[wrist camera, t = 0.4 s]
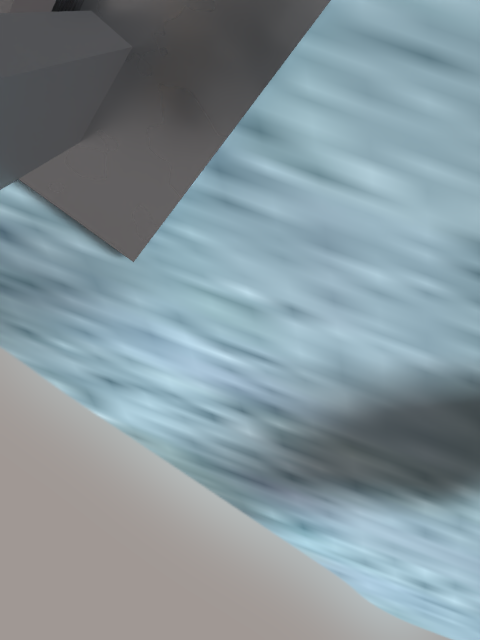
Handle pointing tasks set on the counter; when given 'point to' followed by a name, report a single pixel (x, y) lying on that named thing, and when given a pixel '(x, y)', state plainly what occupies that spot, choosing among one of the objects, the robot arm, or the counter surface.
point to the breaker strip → (164, 105)
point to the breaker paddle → (51, 83)
